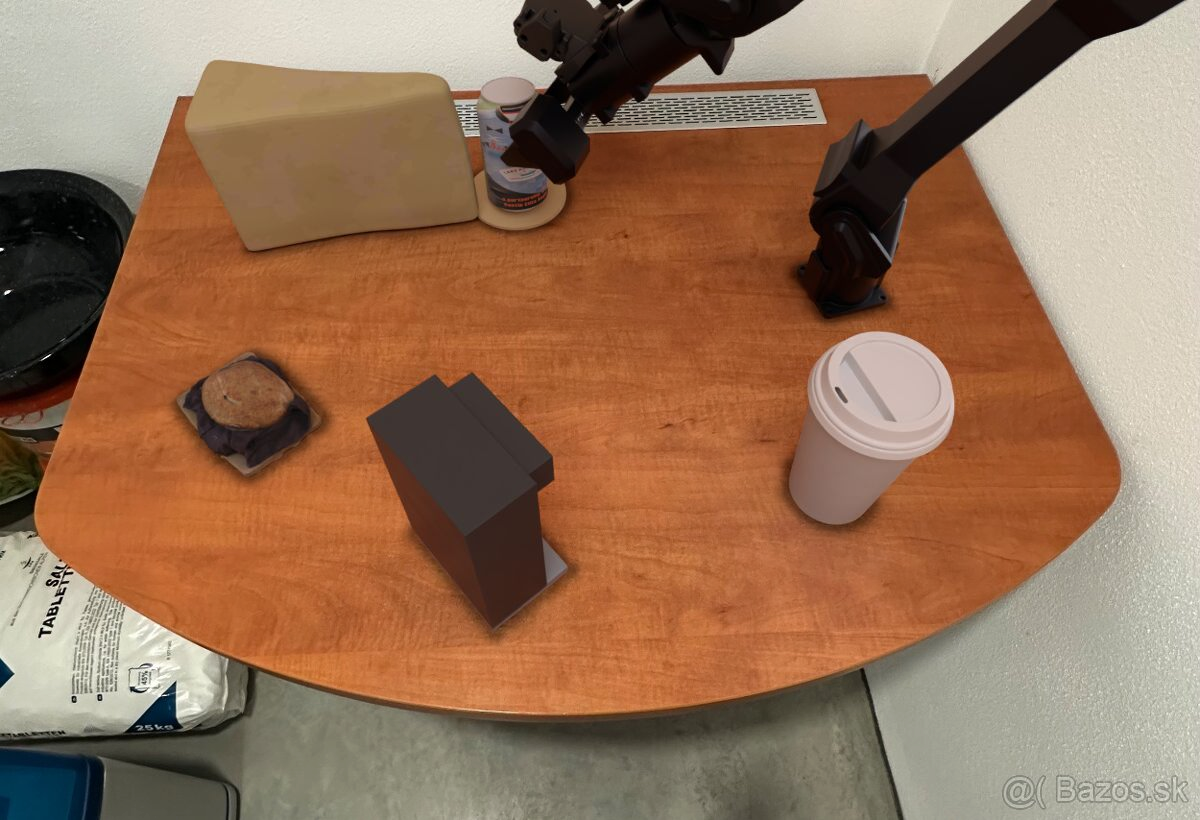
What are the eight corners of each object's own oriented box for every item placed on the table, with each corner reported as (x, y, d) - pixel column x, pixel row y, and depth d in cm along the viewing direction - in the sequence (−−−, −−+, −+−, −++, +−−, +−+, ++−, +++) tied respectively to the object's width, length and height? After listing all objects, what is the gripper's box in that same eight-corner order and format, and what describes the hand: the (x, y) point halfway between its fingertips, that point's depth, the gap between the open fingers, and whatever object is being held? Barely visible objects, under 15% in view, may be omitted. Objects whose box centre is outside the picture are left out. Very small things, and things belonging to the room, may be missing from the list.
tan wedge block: (482, 181, 82) (460, 46, 69) (476, 251, 77) (452, 118, 64) (265, 186, 82) (204, 50, 69) (245, 255, 76) (174, 123, 64)
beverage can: (497, 227, 79) (484, 124, 68) (478, 179, 82) (463, 74, 72) (558, 213, 80) (554, 110, 70) (536, 166, 84) (530, 61, 73)
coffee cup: (764, 434, 66) (807, 318, 54) (879, 438, 66) (949, 324, 54) (774, 540, 61) (824, 440, 49) (899, 545, 61) (981, 446, 49)
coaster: (550, 155, 85) (550, 152, 85) (578, 218, 80) (578, 215, 80) (458, 173, 83) (457, 170, 83) (480, 239, 78) (480, 236, 78)
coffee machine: (488, 481, 64) (461, 356, 50) (568, 571, 60) (564, 463, 46) (414, 533, 61) (365, 417, 47) (493, 631, 57) (464, 536, 43)
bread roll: (172, 406, 67) (151, 381, 64) (259, 349, 70) (243, 323, 67) (241, 485, 63) (223, 462, 60) (330, 421, 66) (317, 396, 63)
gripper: (618, -98, 64) (505, 6, 76) (524, 25, 55) (410, 124, 66) (700, 16, 69) (583, 98, 81) (628, 148, 60) (506, 220, 71)
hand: (524, 130), depth 74 cm, fingers open, 9 cm apart
